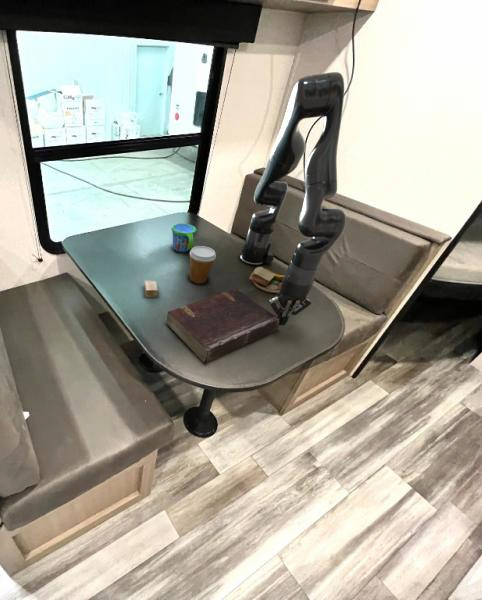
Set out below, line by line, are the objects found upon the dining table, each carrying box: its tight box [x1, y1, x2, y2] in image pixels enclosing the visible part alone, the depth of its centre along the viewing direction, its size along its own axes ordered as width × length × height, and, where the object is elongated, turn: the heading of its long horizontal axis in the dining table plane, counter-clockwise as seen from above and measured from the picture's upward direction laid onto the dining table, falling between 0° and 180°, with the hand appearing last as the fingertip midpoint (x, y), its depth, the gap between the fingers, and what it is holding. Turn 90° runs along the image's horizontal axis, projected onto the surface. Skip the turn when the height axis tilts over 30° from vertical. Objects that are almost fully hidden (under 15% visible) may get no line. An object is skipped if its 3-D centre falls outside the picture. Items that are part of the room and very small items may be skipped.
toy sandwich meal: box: [249, 266, 285, 294], centre depth 119 cm, size 12×14×5 cm
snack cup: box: [170, 222, 197, 253], centre depth 139 cm, size 16×10×10 cm
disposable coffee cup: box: [189, 245, 217, 284], centre depth 118 cm, size 10×10×12 cm
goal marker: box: [143, 280, 159, 298], centre depth 113 cm, size 4×6×3 cm, turn 3°
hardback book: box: [165, 287, 280, 364], centre depth 98 cm, size 29×19×5 cm, turn 119°
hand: (280, 323), depth 100 cm, fingers closed
